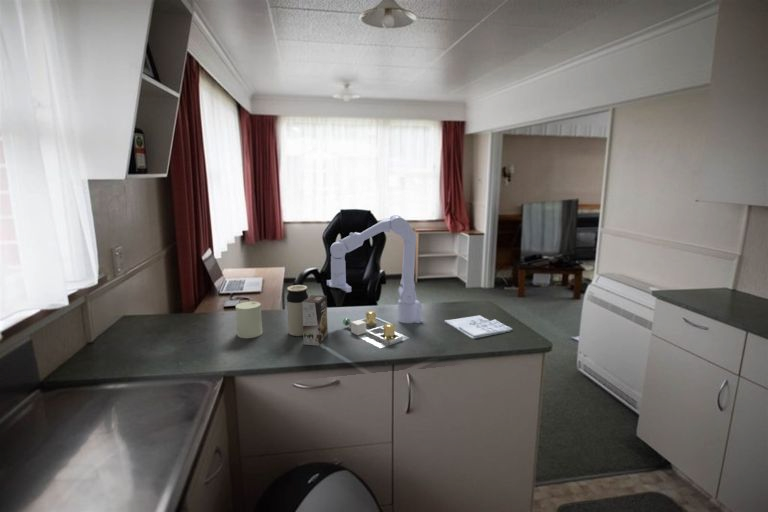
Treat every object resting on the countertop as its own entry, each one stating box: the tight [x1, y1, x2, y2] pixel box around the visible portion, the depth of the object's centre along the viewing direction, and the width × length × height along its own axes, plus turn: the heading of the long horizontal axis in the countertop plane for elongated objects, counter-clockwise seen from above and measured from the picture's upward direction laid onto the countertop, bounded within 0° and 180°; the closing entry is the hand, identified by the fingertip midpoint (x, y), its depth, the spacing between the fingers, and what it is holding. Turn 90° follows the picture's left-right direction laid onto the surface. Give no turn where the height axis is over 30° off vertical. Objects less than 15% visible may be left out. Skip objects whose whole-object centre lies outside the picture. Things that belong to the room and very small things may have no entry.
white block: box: [350, 319, 367, 336], centre depth 156 cm, size 4×4×5 cm
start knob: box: [342, 317, 352, 327], centre depth 160 cm, size 3×7×3 cm, turn 40°
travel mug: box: [286, 284, 309, 337], centre depth 158 cm, size 8×8×18 cm
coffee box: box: [302, 294, 329, 347], centre depth 150 cm, size 9×6×16 cm
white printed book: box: [444, 314, 513, 340], centre depth 166 cm, size 19×20×2 cm
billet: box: [365, 310, 377, 327], centre depth 165 cm, size 4×4×6 cm
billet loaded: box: [383, 323, 396, 340], centre depth 149 cm, size 4×4×6 cm
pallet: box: [358, 326, 410, 349], centre depth 151 cm, size 14×13×3 cm
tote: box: [360, 316, 393, 331], centre depth 165 cm, size 12×12×2 cm
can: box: [235, 300, 264, 339], centre depth 157 cm, size 9×9×12 cm
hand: (339, 305), depth 165 cm, fingers closed
